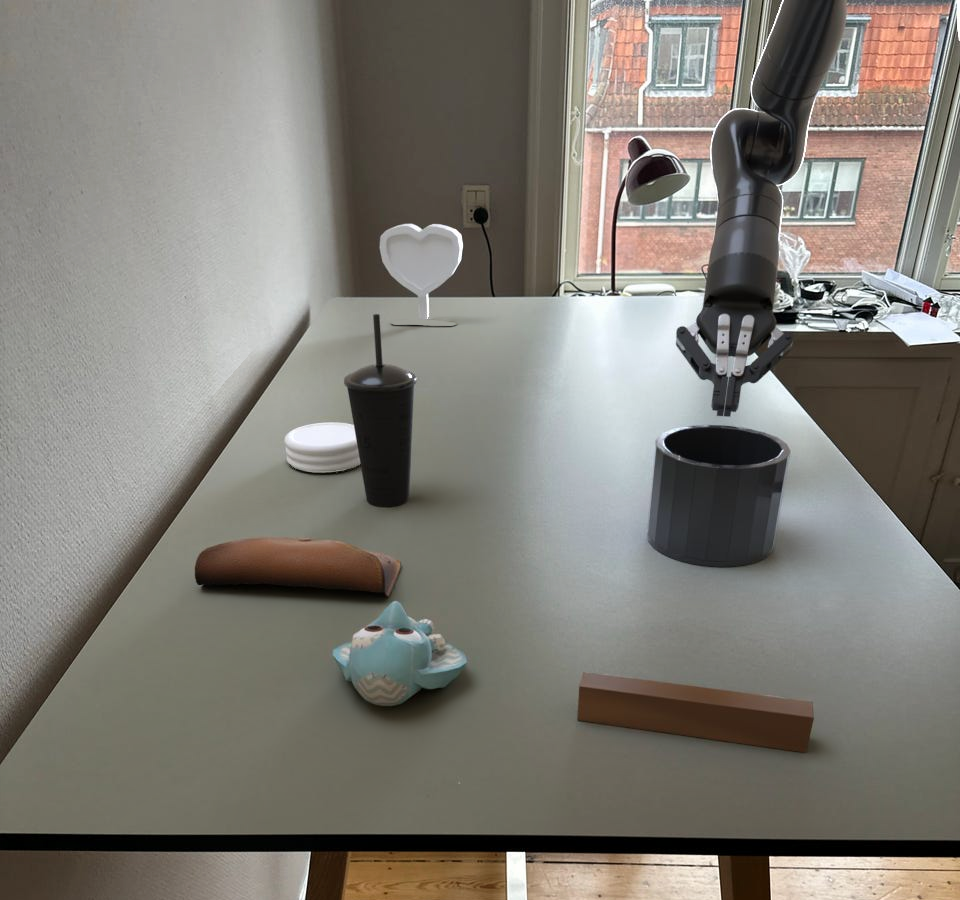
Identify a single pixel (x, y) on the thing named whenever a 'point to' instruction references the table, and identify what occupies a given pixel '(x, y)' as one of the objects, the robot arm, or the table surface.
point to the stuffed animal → (397, 658)
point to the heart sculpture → (421, 258)
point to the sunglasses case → (297, 564)
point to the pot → (716, 494)
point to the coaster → (323, 447)
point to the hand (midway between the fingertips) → (724, 412)
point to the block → (696, 711)
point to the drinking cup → (383, 426)
